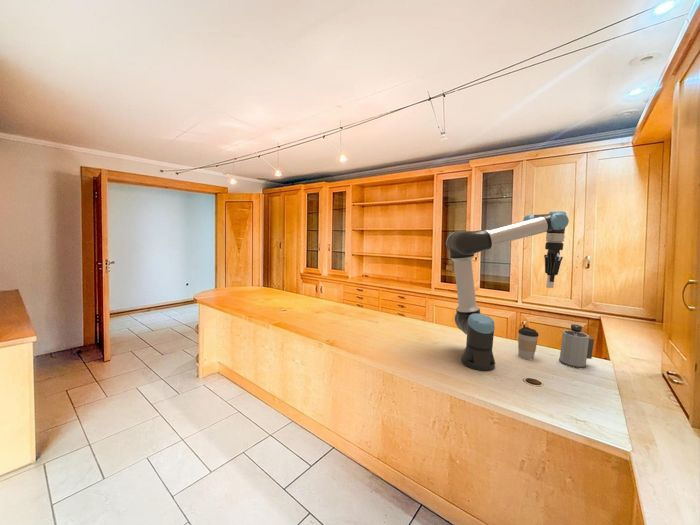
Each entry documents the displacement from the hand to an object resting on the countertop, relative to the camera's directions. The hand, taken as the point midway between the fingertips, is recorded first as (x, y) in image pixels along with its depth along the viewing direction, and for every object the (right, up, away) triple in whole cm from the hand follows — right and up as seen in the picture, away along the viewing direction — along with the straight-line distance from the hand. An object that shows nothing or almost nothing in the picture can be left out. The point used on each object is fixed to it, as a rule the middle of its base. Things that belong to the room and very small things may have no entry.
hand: (549, 287), depth 153 cm
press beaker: (+9, -38, -5) cm, 39 cm away
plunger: (+8, -33, -6) cm, 35 cm away
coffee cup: (-12, -36, +1) cm, 38 cm away
